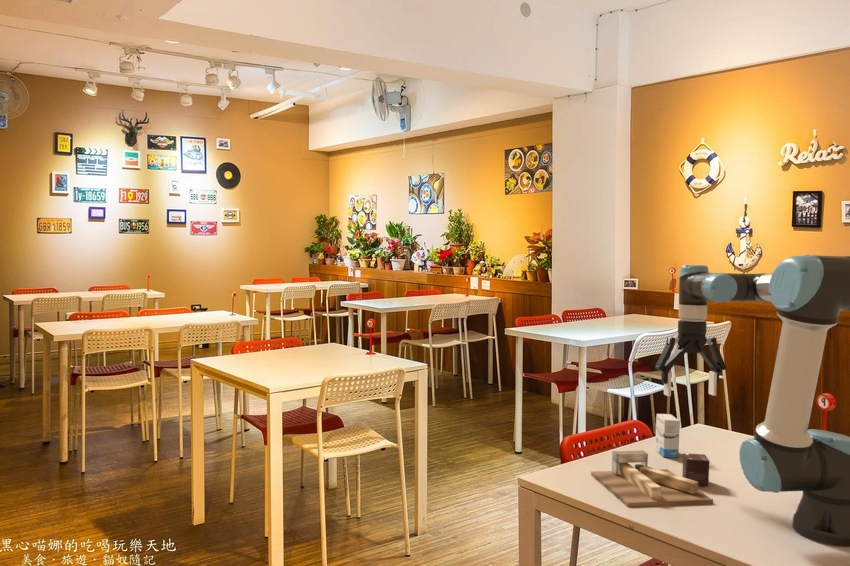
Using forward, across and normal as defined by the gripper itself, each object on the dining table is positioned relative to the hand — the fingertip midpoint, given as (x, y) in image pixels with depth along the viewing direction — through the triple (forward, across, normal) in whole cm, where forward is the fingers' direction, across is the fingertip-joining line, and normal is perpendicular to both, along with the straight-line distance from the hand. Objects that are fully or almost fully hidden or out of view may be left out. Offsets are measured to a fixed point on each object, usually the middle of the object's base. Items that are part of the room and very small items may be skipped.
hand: (689, 395), depth 199 cm
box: (+24, 0, +4) cm, 24 cm away
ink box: (+23, -5, -22) cm, 32 cm away
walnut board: (+24, +15, +8) cm, 29 cm away
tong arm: (+22, +11, +8) cm, 26 cm away
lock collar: (+22, +16, -2) cm, 28 cm away
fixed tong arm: (+24, +18, +7) cm, 31 cm away
